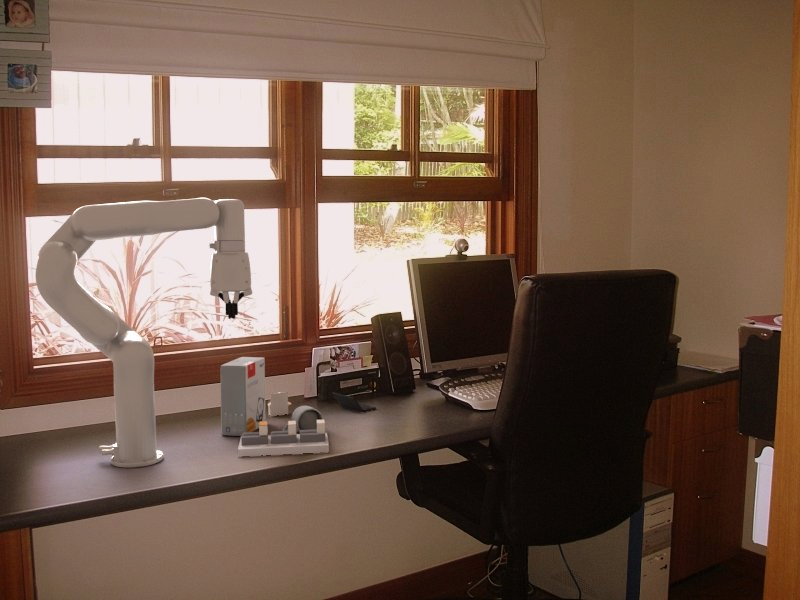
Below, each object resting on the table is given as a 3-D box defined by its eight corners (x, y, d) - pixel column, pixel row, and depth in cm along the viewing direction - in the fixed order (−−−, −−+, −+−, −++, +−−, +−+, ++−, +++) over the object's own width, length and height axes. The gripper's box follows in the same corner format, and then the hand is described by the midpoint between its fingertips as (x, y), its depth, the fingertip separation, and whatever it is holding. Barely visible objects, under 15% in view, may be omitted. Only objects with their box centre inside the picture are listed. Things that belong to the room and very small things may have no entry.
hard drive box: (246, 437, 224) (244, 366, 222) (220, 436, 226) (218, 365, 224) (266, 423, 240) (264, 356, 238) (242, 422, 241) (240, 355, 239)
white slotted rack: (238, 457, 206) (237, 430, 205) (241, 443, 218) (240, 419, 217) (328, 452, 209) (328, 426, 208) (327, 439, 221) (326, 415, 220)
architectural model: (267, 415, 251) (266, 392, 250) (288, 412, 254) (287, 389, 253) (270, 418, 248) (270, 394, 247) (292, 415, 251) (291, 391, 250)
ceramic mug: (315, 427, 234) (313, 401, 234) (324, 434, 227) (323, 407, 226) (279, 432, 230) (278, 405, 229) (287, 439, 223) (286, 412, 222)
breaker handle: (259, 435, 211) (259, 424, 210) (259, 431, 214) (259, 421, 214) (267, 435, 211) (266, 424, 211) (267, 431, 214) (267, 421, 214)
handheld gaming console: (380, 403, 257) (364, 382, 252) (370, 421, 252) (353, 399, 247) (353, 403, 264) (337, 382, 259) (343, 420, 259) (326, 399, 255)
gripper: (198, 248, 205) (200, 320, 206) (258, 247, 206) (260, 319, 208) (202, 247, 212) (204, 316, 214) (260, 246, 214) (261, 315, 216)
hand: (231, 317), depth 211 cm, fingers closed
